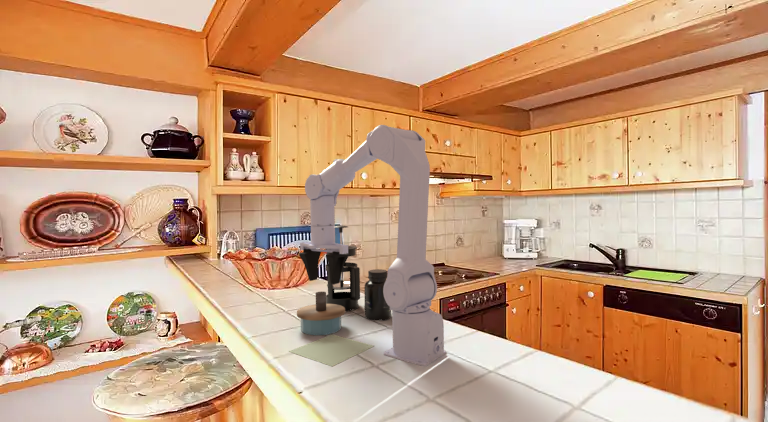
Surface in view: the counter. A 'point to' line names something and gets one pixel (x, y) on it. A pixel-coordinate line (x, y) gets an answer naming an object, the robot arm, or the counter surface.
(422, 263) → the robot arm
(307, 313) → the walnut lid
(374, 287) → the supplement bottle
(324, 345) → the sage mat
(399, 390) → the counter surface
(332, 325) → the teal bowl
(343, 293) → the french press
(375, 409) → the counter surface
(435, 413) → the counter surface
